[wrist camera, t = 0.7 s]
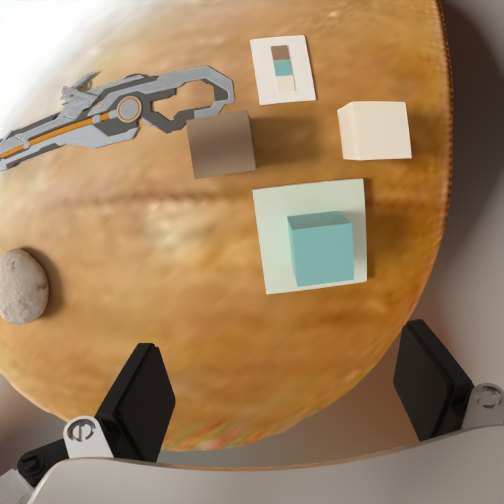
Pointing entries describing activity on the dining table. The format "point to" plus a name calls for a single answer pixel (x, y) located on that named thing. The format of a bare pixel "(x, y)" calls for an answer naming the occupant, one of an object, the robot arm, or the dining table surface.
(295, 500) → the robot arm
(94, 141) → the gun
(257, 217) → the baseplate
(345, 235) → the teal brick
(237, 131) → the walnut brick
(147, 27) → the dining table surface
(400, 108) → the cream brick
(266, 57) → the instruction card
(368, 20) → the dining table surface
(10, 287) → the stone
